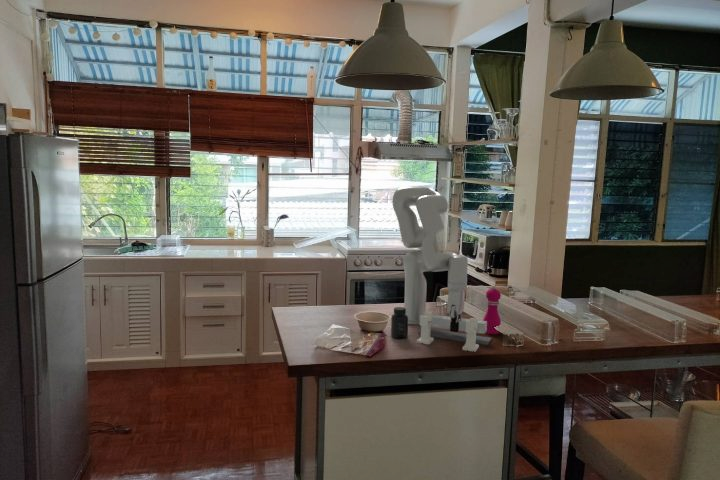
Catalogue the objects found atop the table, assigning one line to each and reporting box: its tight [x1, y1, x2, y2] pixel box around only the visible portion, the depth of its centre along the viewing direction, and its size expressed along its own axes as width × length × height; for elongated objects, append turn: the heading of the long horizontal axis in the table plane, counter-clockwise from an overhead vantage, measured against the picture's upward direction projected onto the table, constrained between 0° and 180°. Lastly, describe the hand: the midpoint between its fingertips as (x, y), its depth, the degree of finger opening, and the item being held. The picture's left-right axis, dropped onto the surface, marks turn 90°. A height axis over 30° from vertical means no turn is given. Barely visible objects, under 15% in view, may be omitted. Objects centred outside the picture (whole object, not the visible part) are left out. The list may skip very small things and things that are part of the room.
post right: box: [461, 317, 480, 353], centre depth 207 cm, size 5×7×11 cm
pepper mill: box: [482, 284, 502, 335], centre depth 228 cm, size 7×7×20 cm
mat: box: [418, 328, 493, 346], centre depth 221 cm, size 28×8×1 cm, turn 66°
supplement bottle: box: [390, 306, 409, 341], centre depth 219 cm, size 7×7×12 cm
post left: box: [416, 311, 435, 345], centre depth 214 cm, size 5×7×11 cm
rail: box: [431, 314, 487, 335], centre depth 220 cm, size 24×4×4 cm, turn 66°
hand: (455, 329), depth 221 cm, fingers closed on rail, 4 cm apart
